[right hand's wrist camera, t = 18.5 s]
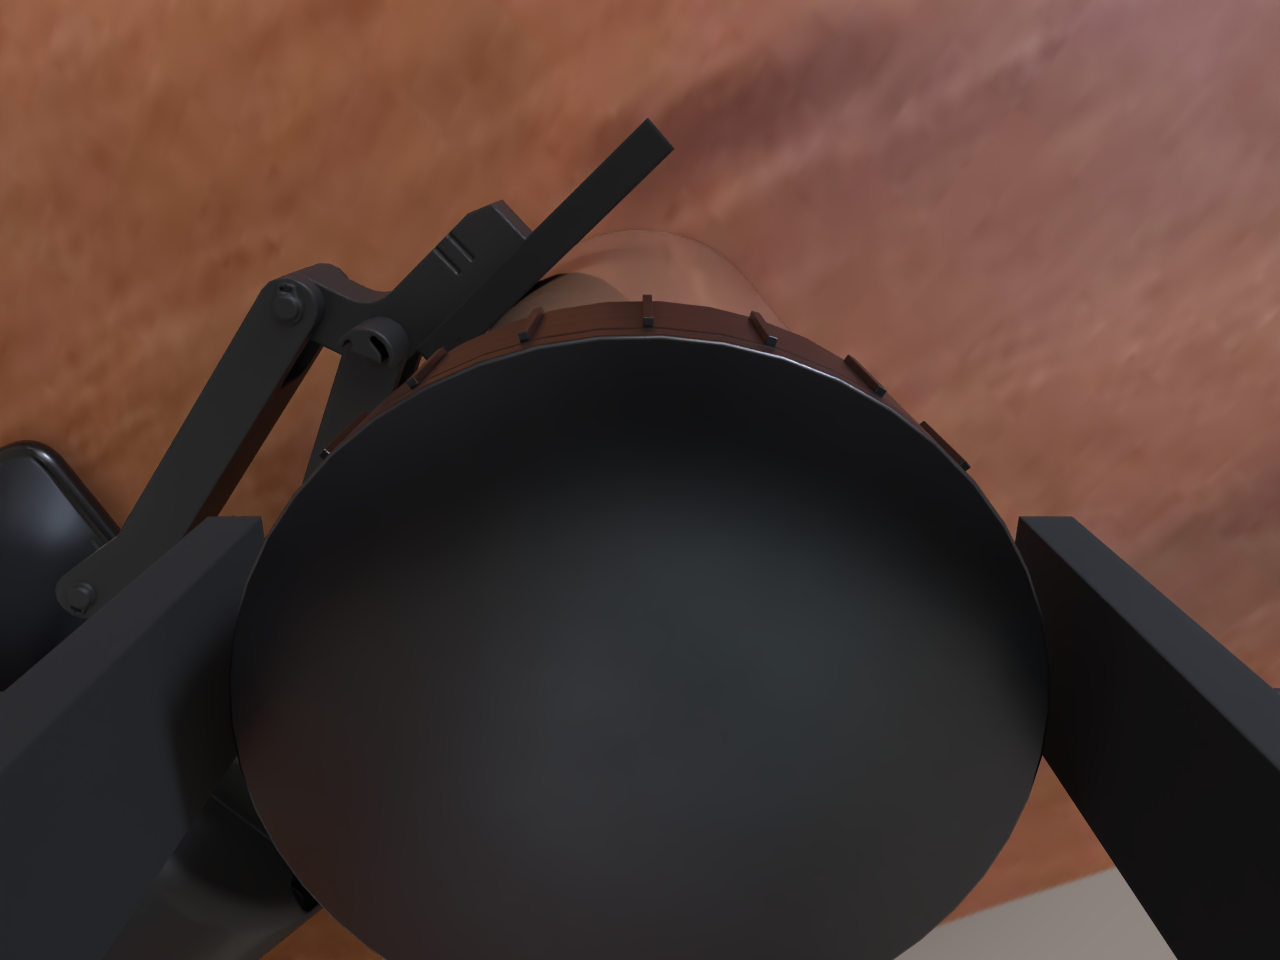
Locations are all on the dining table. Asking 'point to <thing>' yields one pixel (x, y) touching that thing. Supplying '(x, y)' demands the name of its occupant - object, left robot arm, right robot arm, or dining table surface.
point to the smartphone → (40, 550)
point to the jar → (643, 277)
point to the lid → (639, 654)
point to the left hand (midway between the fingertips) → (799, 298)
